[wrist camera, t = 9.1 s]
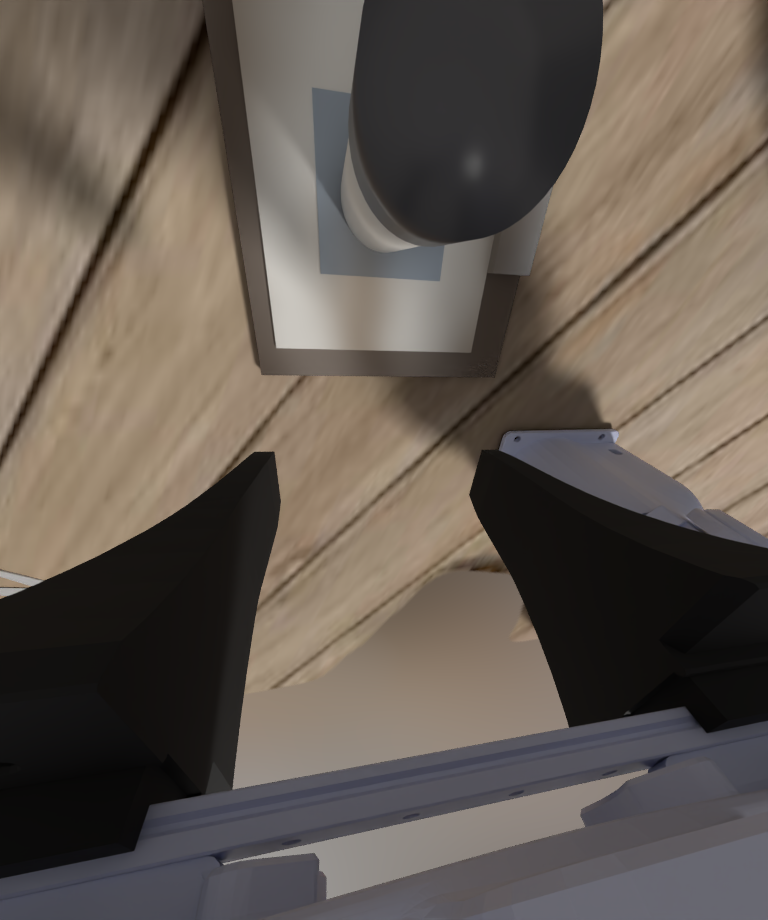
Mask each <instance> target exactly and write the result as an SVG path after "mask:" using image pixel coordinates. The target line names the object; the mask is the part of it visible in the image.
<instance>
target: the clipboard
mask: <svg viewBox="0 0 768 920" xmlns="http://www.w3.org/2000/svg"><path fill="white" fill-rule="evenodd" d="M202 1H203V7H204V14H205V20H206V26H207V33H208V39H209V45H210V52H211V58H212V64H213V71H214V77H215V83H216V90H217V96H218V102H219V108H220V115H221V121H222V127H223V134H224V140H225V146H226V153H227V159H228V165H229V172H230V178H231V184H232V191H233V197H234V203H235V209H236V216H237V222H238V228H239V235H240V241H241V247H242V254H243V260H244V266H245V273H246V279H247V285H248V292H249V298H250V304H251V310H252V317H253V323H254V329H255V336H256V342H257V348H258V355H259V361H260V367H261V374H262V375H308V376H410V377H495V374H496V370H497V366H498V362H499V358H500V354H501V350H502V346H503V342H504V338H505V334H506V330H507V326H508V322H509V318H510V314H511V310H512V306H513V302H514V298H515V294H516V290H517V286H518V282H519V278H520V275H524V276H529V275H530V271H531V268H532V264H533V260H534V256H535V252H536V249H537V245H538V241H539V237H540V233H541V230H542V226H543V222H544V218H545V214H546V211H547V207H548V203H549V199H550V195H551V192H552V188H553V186H552V188H551V189H550V190H549V191H548V193H547V194H546V195H545V197H544V198H543V199H542V200H541V201H540V202H539V203H538V204H537V205H536V206H535V207H534V208H533V209H532V210H531V211H530V212H529V213H528V214H527V215H525V216H524V217H523V218H522V219H521V220H519V221H518V222H516V223H515V224H513V225H512V226H510V227H509V228H507V229H505V230H503V231H501V232H499V233H497V234H494V235H491V236H488V237H485V238H481V239H476V240H470V241H465V242H459V243H454V244H448V245H443V246H436V247H424V246H418V247H414V248H409V249H405V250H400V251H396V252H390V253H382V252H377V251H374V250H371V249H369V248H367V247H366V246H365V245H363V244H362V243H361V242H360V241H359V240H358V239H357V238H356V237H355V236H354V234H353V233H352V231H351V230H350V228H349V226H348V224H347V222H346V219H345V217H344V213H343V210H342V204H341V181H342V174H343V168H344V162H345V156H346V150H347V144H348V138H349V132H348V119H349V104H350V97H351V89H352V82H353V75H354V67H355V60H356V53H357V45H358V38H359V31H360V24H361V17H362V10H363V4H364V0H202Z"/></svg>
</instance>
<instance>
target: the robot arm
mask: <svg viewBox="0 0 768 920" xmlns="http://www.w3.org/2000/svg"><path fill="white" fill-rule="evenodd" d="M618 435H619V432H618V431H616V430H615V429H586V430H538V431H509V432H507V433H505V434H504V436H503V438H502V441H501V445H500V448H499V450H482V451H481V455H480V458H479V462H478V465H477V469H476V472H475V476H474V479H473V483H472V487H471V490H470V494H469V496H470V498H471V501H472V504H473V506H474V509H475V511H476V514H477V516H478V518H479V520H480V522H481V524H482V526H483V527H484V529H485V531H486V533H487V534H488V536H489V538H490V540H491V541H492V543H493V545H494V546H495V548H496V550H497V551H498V553H499V555H500V557H501V558H502V560H503V562H504V563H505V565H506V567H507V569H508V570H509V572H510V574H511V576H512V578H513V580H514V582H515V584H516V586H517V588H518V591H519V593H520V595H521V597H522V600H523V602H524V604H525V606H526V609H527V611H528V614H529V616H530V618H531V621H532V623H533V626H534V628H535V630H536V633H537V635H538V638H539V640H540V643H541V645H542V649H543V651H544V654H545V656H546V659H547V662H548V665H549V667H550V670H551V673H552V675H553V679H554V681H555V685H556V687H557V691H558V694H559V697H560V700H561V703H562V705H563V709H564V712H565V715H566V718H567V721H568V725H569V728H565V729H560V730H554V731H549V732H544V733H538V734H532V735H527V736H521V737H516V738H511V739H505V740H500V741H494V742H489V743H483V744H478V745H473V746H467V747H462V748H456V749H451V750H445V751H440V752H435V753H430V754H424V755H418V756H413V757H407V758H402V759H397V760H392V761H386V762H380V763H376V764H370V765H364V766H359V767H354V768H348V769H343V770H337V771H332V772H326V773H321V774H315V775H310V776H304V777H299V778H294V779H288V780H283V781H277V782H272V783H267V784H261V785H256V786H251V787H245V788H239V789H235V790H232V787H233V778H234V769H235V761H236V752H237V743H238V736H239V727H240V718H241V711H242V704H243V696H244V689H245V681H246V674H247V667H248V661H249V654H250V647H251V641H252V634H253V628H254V622H255V616H256V610H257V604H258V599H259V595H260V590H261V587H262V583H263V579H264V576H265V572H266V568H267V565H268V561H269V557H270V554H271V550H272V546H273V542H274V539H275V535H276V531H277V527H278V519H279V512H280V504H281V499H280V492H279V484H278V476H277V469H276V461H275V453H274V452H254V453H252V454H251V455H250V456H249V457H247V458H246V459H245V460H244V461H243V462H241V463H240V464H239V465H238V466H237V467H236V468H234V469H233V470H232V471H231V472H230V473H228V474H227V475H226V476H225V477H224V478H222V479H221V480H220V481H219V482H217V483H216V484H215V485H214V486H212V487H211V488H210V489H208V490H207V491H205V492H204V493H203V494H201V495H200V496H199V497H197V498H196V499H195V500H193V501H192V502H191V503H189V504H188V505H186V506H185V507H183V508H182V509H180V510H179V511H177V512H176V513H174V514H173V515H171V516H170V517H168V518H166V519H165V520H163V521H161V522H160V523H158V524H156V525H155V526H153V527H151V528H150V529H148V530H146V531H145V532H143V533H141V534H139V535H137V536H135V537H133V538H131V539H129V540H128V541H126V542H124V543H122V544H120V545H118V546H116V547H114V548H112V549H111V550H109V551H107V552H105V553H103V554H101V555H99V556H97V557H95V558H93V559H91V560H89V561H87V562H84V563H82V564H80V565H78V566H76V567H74V568H72V569H70V570H67V571H65V572H63V573H61V574H58V575H56V576H54V577H52V578H49V579H47V580H45V581H43V582H40V583H38V584H36V585H33V586H31V587H29V588H26V589H24V590H22V591H19V592H17V593H14V594H12V595H9V596H7V597H4V598H2V599H0V920H768V539H767V538H766V537H764V536H762V535H761V534H759V533H757V532H756V531H754V530H753V529H751V528H749V527H748V526H746V525H744V524H743V523H741V522H739V521H738V520H736V519H734V518H733V517H731V516H729V515H728V514H726V513H724V512H723V511H721V510H718V509H706V510H704V509H703V507H702V506H701V504H700V502H699V501H698V499H697V498H696V497H695V496H694V494H693V493H692V492H691V491H690V490H689V489H688V488H687V487H685V486H684V485H683V484H681V483H679V482H678V481H676V480H675V479H673V478H671V477H670V476H668V475H666V474H665V473H663V472H661V471H660V470H658V469H656V468H655V467H653V466H651V465H650V464H648V463H646V462H645V461H643V460H641V459H640V458H638V457H636V456H635V455H633V454H631V453H630V452H628V451H626V450H625V449H623V448H622V447H620V446H618V445H617V444H615V442H616V440H617V438H618ZM517 436H518V438H517V439H516V440H514V439H515V438H516V437H517ZM645 769H649V770H648V774H645V775H642V776H639V777H636V778H633V779H630V780H628V781H626V782H625V783H624V784H623V785H622V786H621V787H620V788H619V789H618V790H616V791H615V792H613V793H611V794H610V795H608V796H606V797H605V798H603V799H601V800H599V801H597V802H595V803H593V804H591V805H589V806H587V807H585V808H583V809H581V818H582V820H583V822H584V824H585V827H584V828H581V829H576V830H572V831H568V832H564V833H561V834H557V835H553V836H549V837H546V838H542V839H538V840H534V841H530V842H527V843H523V844H519V845H515V846H512V847H508V848H504V849H501V850H497V851H494V852H490V853H487V854H483V855H480V856H476V857H472V858H469V859H466V860H462V861H458V862H455V863H451V864H448V865H444V866H441V867H438V868H434V869H430V870H427V871H423V872H420V873H417V874H413V875H410V876H406V877H403V878H399V879H396V880H393V881H389V882H386V883H382V884H379V885H375V886H372V887H368V888H365V889H361V890H358V891H355V892H351V893H348V894H344V895H341V896H337V897H334V898H330V899H327V900H326V876H325V875H324V873H323V872H321V871H319V859H318V858H317V856H316V855H315V853H310V854H301V855H292V856H282V857H272V858H262V859H253V860H246V861H239V862H235V863H231V864H227V865H223V864H222V863H225V862H230V861H234V860H239V859H243V858H248V857H252V856H257V855H261V854H266V853H271V852H275V851H280V850H284V849H289V848H293V847H297V846H302V845H307V844H311V843H315V842H320V841H325V840H329V839H334V838H338V837H343V836H347V835H352V834H356V833H361V832H365V831H370V830H374V829H379V828H383V827H388V826H392V825H397V824H402V823H406V822H411V821H415V820H419V819H424V818H429V817H433V816H437V815H442V814H447V813H451V812H456V811H460V810H465V809H469V808H474V807H478V806H483V805H487V804H492V803H496V802H500V801H505V800H510V799H514V798H519V797H523V796H528V795H532V794H537V793H541V792H546V791H550V790H555V789H559V788H564V787H568V786H573V785H578V784H582V783H587V782H591V781H595V780H600V779H605V778H609V777H614V776H618V775H623V774H627V773H631V772H636V771H641V770H645Z"/></svg>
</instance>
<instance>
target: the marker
mask: <svg viewBox="0 0 768 920" xmlns="http://www.w3.org/2000/svg"><path fill="white" fill-rule="evenodd" d="M602 36H603V1H602V0H364V4H363V10H362V17H361V24H360V31H359V38H358V45H357V53H356V60H355V67H354V75H353V82H352V89H351V97H350V104H349V119H348V132H349V138H348V144H347V150H346V156H345V162H344V168H343V174H342V181H341V204H342V210H343V213H344V217H345V219H346V222H347V224H348V226H349V228H350V230H351V231H352V233H353V234H354V236H355V237H356V238H357V239H358V240H359V241H360V242H361V243H362V244H363V245H365V246H366V247H367V248H369V249H371V250H374V251H377V252H382V253H390V252H396V251H400V250H405V249H409V248H414V247H418V246H424V247H436V246H443V245H448V244H454V243H459V242H465V241H470V240H476V239H481V238H485V237H488V236H491V235H494V234H497V233H499V232H501V231H503V230H505V229H507V228H509V227H510V226H512V225H513V224H515V223H516V222H518V221H519V220H521V219H522V218H523V217H524V216H525V215H527V214H528V213H529V212H530V211H531V210H532V209H533V208H534V207H535V206H536V205H537V204H538V203H539V202H540V201H541V200H542V199H543V198H544V197H545V195H546V194H547V193H548V191H549V190H550V189H551V188H552V186H553V185H554V184H555V182H556V181H557V179H558V177H559V176H560V174H561V173H562V171H563V170H564V168H565V166H566V164H567V163H568V161H569V159H570V157H571V155H572V153H573V151H574V149H575V147H576V144H577V142H578V140H579V137H580V135H581V133H582V130H583V128H584V125H585V122H586V119H587V115H588V112H589V109H590V106H591V102H592V98H593V94H594V90H595V86H596V82H597V76H598V70H599V64H600V57H601V46H602Z"/></svg>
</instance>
